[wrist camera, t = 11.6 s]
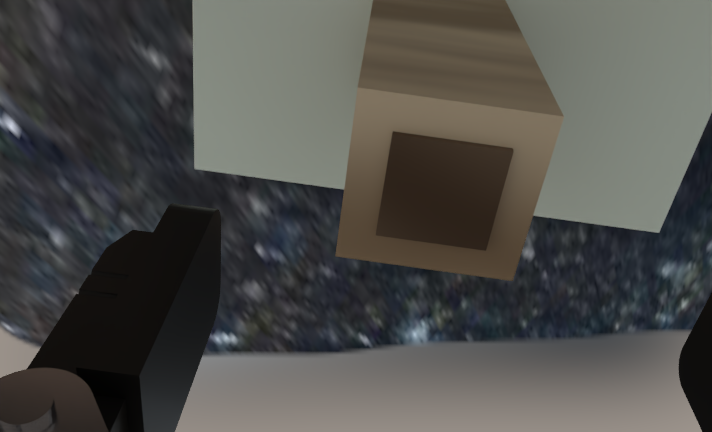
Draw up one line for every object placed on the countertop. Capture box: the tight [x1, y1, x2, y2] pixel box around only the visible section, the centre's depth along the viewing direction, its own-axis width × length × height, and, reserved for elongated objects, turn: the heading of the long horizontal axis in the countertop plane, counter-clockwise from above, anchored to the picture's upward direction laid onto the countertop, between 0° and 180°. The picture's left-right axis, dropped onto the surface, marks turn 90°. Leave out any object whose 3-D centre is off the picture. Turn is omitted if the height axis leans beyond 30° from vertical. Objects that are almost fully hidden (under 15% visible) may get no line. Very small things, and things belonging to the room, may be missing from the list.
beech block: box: [336, 0, 564, 281], centre depth 18 cm, size 4×4×10 cm
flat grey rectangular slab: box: [193, 0, 712, 233], centre depth 22 cm, size 12×18×1 cm, turn 83°
